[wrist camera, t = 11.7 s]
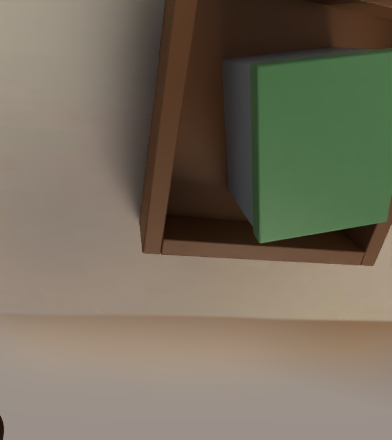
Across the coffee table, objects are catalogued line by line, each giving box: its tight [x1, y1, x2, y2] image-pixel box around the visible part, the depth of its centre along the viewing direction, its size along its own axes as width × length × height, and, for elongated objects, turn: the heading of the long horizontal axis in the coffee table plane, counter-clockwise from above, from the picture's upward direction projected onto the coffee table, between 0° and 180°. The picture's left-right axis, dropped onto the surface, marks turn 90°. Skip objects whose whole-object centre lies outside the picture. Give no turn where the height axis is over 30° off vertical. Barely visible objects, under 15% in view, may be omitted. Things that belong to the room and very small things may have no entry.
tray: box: [139, 0, 392, 266], centre depth 16 cm, size 12×12×3 cm
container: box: [222, 47, 392, 243], centre depth 15 cm, size 6×5×5 cm
